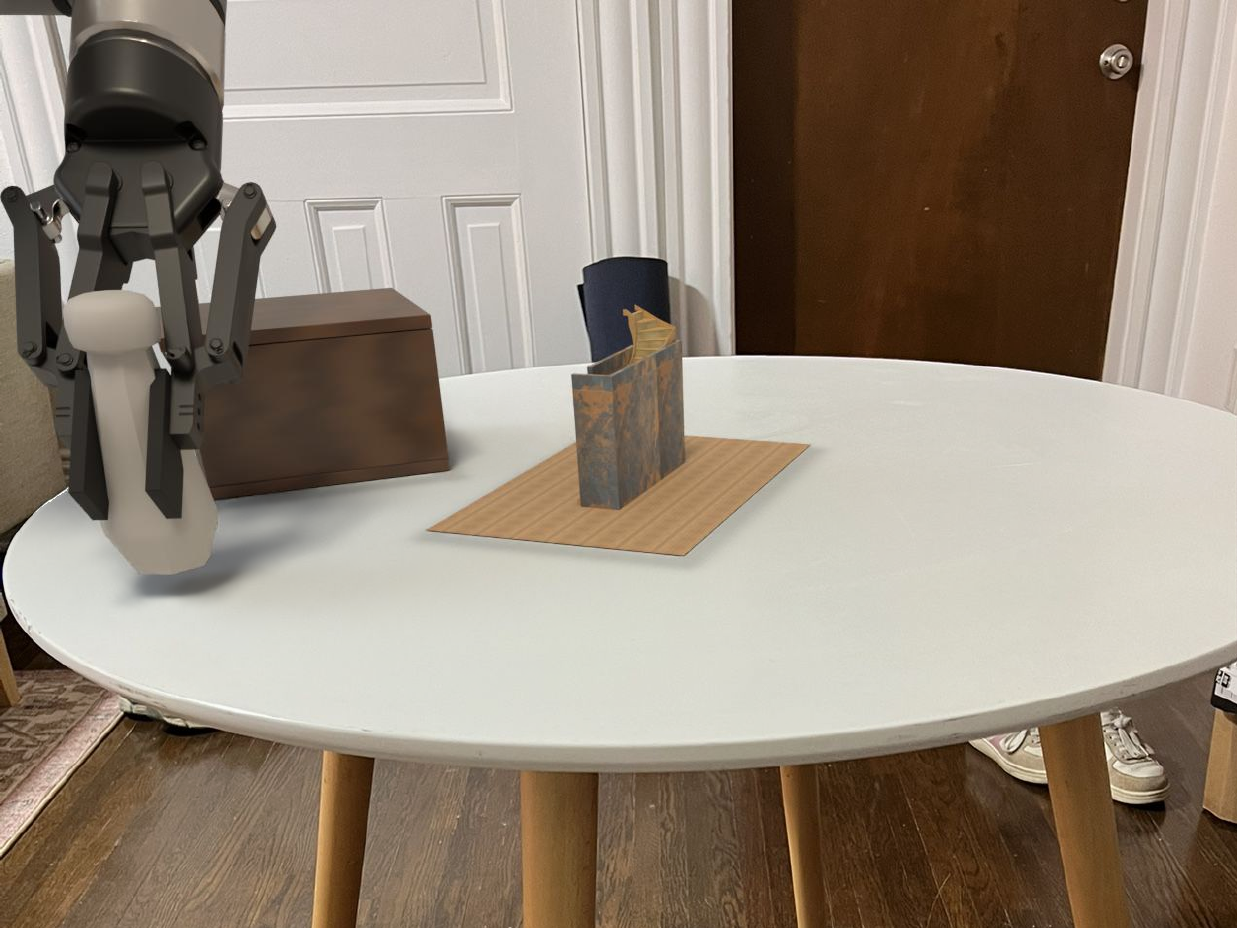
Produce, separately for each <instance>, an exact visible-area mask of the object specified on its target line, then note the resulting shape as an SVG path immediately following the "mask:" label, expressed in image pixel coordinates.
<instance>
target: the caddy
mask: <svg viewBox="0 0 1237 928" xmlns="http://www.w3.org/2000/svg"><path fill="white" fill-rule="evenodd" d="M435 344H436V343H435V338H434V330H433V328H427V329H417V330H406V331H395V332H384V333H373V334H362V335H351V336H340V337H329V338H319V339H308V340H297V341H286V342H275V343H264V344H253V345H249V347H248V355H247V362H246V370H245V376H244V379H243V380H242V381H241V382H240V383H238V384H236V385H229V384H226V383H225V382H222V383H219V384H216V385H214V386H212V387H211V388H209V390H208V391H207V393H206V395H205V408H204V429H203V430H204V434H203V442H202V444H201V446H200V448H199V450H194V452H195V455H196V457H197V460H198V462H199V465H200V467H201V470H202V472H203V475H204V477H205V480H206V482H207V485H208V487H209V490H210V492H211V495H212V497H213V500H214V501H215V500H221V499H229V498H230V499H231V498H237V497H245V496H246V497H247V496H253V495H262V494H269V493H270V494H271V493H278V492H284V491H294V490H302V489H303V490H304V489H309V488H318V487H327V486H334V485H342V484H343V485H344V484H349V483H350V484H351V483H357V482H366V481H373V480H382V479H389V478H390V479H391V478H398V477H406V476H412V475H413V476H414V475H420V474H421V475H423V474H430V473H437V472H445V471H446V472H447V471H450V470H451V466H450V457H449V448H448V441H447V432H446V426H445V425H446V424H445V416H444V409H443V401H442V392H441V385H440V378H439V377H440V375H439V370H438V369H439V368H438V361H437V353H436V346H435Z"/></svg>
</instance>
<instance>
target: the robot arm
mask: <svg viewBox="0 0 1237 928" xmlns="http://www.w3.org/2000/svg"><path fill="white" fill-rule="evenodd" d="M227 7H228V0H0V16H66V17H67V18H70V31H69V45H68V46H69V47H68V63H69V65H68V67H67V73H66V84H65V85H66V86H65V100H64V101H65V102H64V117H63V137H64V155H63V157H62V161H61V162H60V164H59V165H58V166H57V168H56V170H55V171H54V174H53V180H52V181H53V184H51V185H49V186H47V187H44V188H42V189H39V190H37V191H35V192H32V193H30V194H26V193H25V191H24V190H23V189H22V188H21V187H19V186H17V185H9V186H6V187H4V188H3V189H2V191H1V192H0V202H1V204H2V206H3V208H4V210H5V212H6V215H7V217H8V219H9V221H10V223H11V225H12V227H13V229H12V230H13V232H12V233H13V257H14V262H13V263H14V285H15V286H14V287H15V316H16V317H15V318H16V346H17V349H16V350H17V353H18V355H19V356H20V358H21V359H22V360H23V362H24V363H25V364H26V365H27V367H28V368H29V369H30V370H31V372H32V373H33V374H34V376H35V377H36V378H37V379H38V380H39V382H40V383H41V384H42V385H43V386H44V387H45V388H46V389H47V388H48V389H56V396H55V398H56V399H55V410H54V411H55V413H54V415H55V417H54V430H55V432H56V435H57V437H58V439H60V441H61V442H62V443H63V444H64V445H65V447H66V448H67V449H68V450H69V452H70V454H69V469H68V471H69V472H68V487H67V488H68V489H67V494H69V496H70V497H71V498H72V499H73V500H74V501H75V502H76V503H77V505H78V506H79V507H80V508H81V509H82V510H83V512H85V514H86V515H87V516H88V517H89V518H90V519H91V520H92V521H94V522H95V521H101V520H108V510H109V500H108V495H107V488H106V481H105V474H104V467H103V460H102V454H101V448H100V441H99V435H98V428H97V422H96V416H95V409H94V403H93V396H92V387H91V377H90V373H89V370H88V362H87V352H85V351H82V350H79V349H76V348H74V347H73V346H72V344H71V343H70V341H69V338H68V335H67V332H66V329H65V326H64V316H63V302H62V299H63V298H62V278H61V277H62V276H61V260H60V255H59V250H58V249H57V246H56V244H57V245H58V244H59V243H61V242H62V241H63V236H62V234H61V233H62V230H63V227H62V226H63V225H62V221H63V218H64V217H65V216H66V215H67V214H68V213H69V214H70V215H71V216H72V218H73V219H74V221H76V223H77V224H78V225H77V231H76V241H77V244H78V252H77V257H76V261H75V266H74V270H73V274H72V279H71V283H70V287H69V291H68V296H67V299H66V303H67V302H68V300H69V299H71V298H73V297H75V296H78V295H81V294H83V293H89V292H95V291H105V290H123V287H124V285H128V283H130V279H131V274H132V270H133V266H134V263H136V262H139V261H144V260H151V261H154V263H155V264H154V265H155V272H156V279H157V289H158V296H159V305H160V306H159V307H161V314H162V322H163V330H164V338H165V347H166V353H165V351H164V350H161V351H162V353H161V354H162V356H163V357H164V359H165V360H166V362H167V364H168V366H169V367H170V372H169V370H168V369H167V368H166V367H164V368H163V367H161V368H158V369H154V373H155V379H154V381H153V382H152V384H151V385H150V395H149V416H148V437H147V458H146V479H145V492H146V493H147V494H148V496H149V497H150V498H151V499H152V501H153V502H154V503H155V505H156V506H157V507H158V508H159V510H160V511H161V512H162V514H163V515H164V516H165V517H166V519H182V499H183V475H184V469H183V463H182V457H181V450H194V451H195V450H199V448H200V446H201V444H202V442H203V434H204V430H203V429H204V408H205V395H206V393H207V391H208V390H209V388H211V387H212V386H214V385H216V384H219V383H222V382H225V383H226V384H229V385H236V384H238V383H240V382H241V381H242V380H243V379H244V376H245V370H246V362H247V355H248V347H249V340H250V332H251V325H252V318H253V310H254V303H255V299H256V294H257V288H258V281H259V279H258V278H259V273H260V265H261V259H262V255H263V254H264V251H265V250H266V248H267V246H268V245H269V243H270V241H271V239H272V237H273V236H274V234H275V232H276V229H277V222H276V220H275V217H274V214H273V213H272V210H271V208H270V206H269V203H268V201H267V198H266V196H265V194H264V191H263V189H262V187H261V185H259V184H258V183H257V182H252V181H248V182H245V183H243V184H242V185H241V186H240V187H236V186H234V185H232V184H229V183H226V182H225V181H224V178H223V176H222V173H221V172H222V158H223V132H224V131H223V130H224V113H223V110H224V107H225V78H226V45H227V44H226V42H227V41H226V40H227V39H226V23H227ZM219 217H220V219H221V221H222V222H221V227H220V232H219V238H218V246H217V253H216V260H215V268H214V274H213V280H212V281H213V283H212V288H211V289H212V290H211V296H210V302H209V303H210V309H209V316H208V323H207V330H206V338H205V345H204V344H203V336H202V328H201V320H200V312H199V305H198V304H199V298H198V289H197V283H196V281H197V280H198V270H197V269H198V268H197V262H196V254H195V253H196V252H195V245H196V244H197V243H198V242H199V240H200V239H201V238H202V237H203V235H205V233H206V232H207V231H208V229H209V228H210V227H211V226H212V225H213V224H214V223H215V221H216V220H217V219H218V218H219ZM161 351H160V352H161Z"/></svg>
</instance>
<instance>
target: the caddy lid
mask: <svg viewBox="0 0 1237 928" xmlns="http://www.w3.org/2000/svg"><path fill="white" fill-rule="evenodd" d="M198 305H199V312H200V320H201V328H202V336H203V344H204V345H205V338H206V330H207V323H208V316H209V309H210V302H198ZM155 308H156V311H157V313H158V316H159V321H160V326H161V341H160V342H159V343H157V345H158V348H159V350H160V353H161V354H162V351H161V350H164V351H165V353H166V347H165V338H164V330H163V322H162V314H161V306H155ZM427 328H431V329H433V322H432V315H431V314H430V313H429V312H427V310H424V309H423V308H422V307H420V306H419V305H417V304H416V303H414V302H413V301H412V300H410V299H408V297H406V296H404V295H403V294H402V293H400V292H399V291H398V290H396V289H395V288H393V287H385V288H372V289H370V288H369V289H361V290H359V289H358V290H348V291H347V290H346V291H335V292H323V293H321V292H320V293H311V294H299V295H285V296H274V297H262V298H255V303H254V310H253V318H252V325H251V332H250V340H249V345H253V344H264V343H275V342H286V341H297V340H308V339H319V338H329V337H340V336H351V335H362V334H373V333H384V332H395V331H406V330H417V329H427Z"/></svg>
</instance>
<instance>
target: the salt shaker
mask: <svg viewBox="0 0 1237 928" xmlns="http://www.w3.org/2000/svg"><path fill="white" fill-rule="evenodd" d="M67 300H68V299H67ZM155 307H156V306H155V303H154V301H152V299H150V298H149V297H148V296H147V295H146V294H144V293H140V292H136V291H132V290H129V289H128V290H127V289H122V290H105V291H95V292H89V293H83V294H81V295H78V296H75V297H73V298H71V299H69V300H68V302H67V301H66V304H65V305H64V307H63V308H62V317H64V326H65V329H66V332H67V335H68V338H69V341H70V343H71V344H72V346H73V347H74V348H76V349H79V350H82V351H85V352H87V362H88V370H89V373H90V377H91V387H92V396H93V403H94V409H95V416H96V422H97V428H98V435H99V441H100V448H101V454H102V460H103V467H104V474H105V481H106V488H107V495H108V500H109V510H108V520H100V527H101V529H102V532H103V533H104V535H105V537H106V538H107V540H108V541H109V542H110V543H111V544H112V545H113V546H114V548H115V549H116V550H117V551H118V552H119V553H120V554H121V555H122V556H123V558H124V559H125V560H126V562H128V563H129V565H131V567H132V568H133V569H134V570H135V572H136V573H137V574H138V575H164V576H165V575H166V576H168V575H171V576H172V575H176V574H180V573H183V572H184V573H185V572H188V571H191V570H194V569H195V570H196V569H199V568H202V567H205V565H206V564H207V562H208V560H209V559H210V557H211V556H212V550H213V543H214V539H215V535H216V531H217V528H218V524H219V523H218V522H219V521H218V509H217V505H216V502H215V500H213V497H212V495H211V492H210V490H209V487H208V485H207V482H206V480H205V477H204V475H203V472H202V470H201V467H200V465H199V462H198V459H197V456H196V453H195V450H181V457H182V463H183V469H184V475H183V499H182V519H166V517H165V516H164V515H163V514H162V512H161V511H160V510H159V508H158V507H157V506H156V505H155V503H154V502H153V501H152V499H151V498H150V497H149V496H148V494H147V493H146V492H145V479H146V458H147V437H148V416H149V395H150V385H151V384H152V382H153V381H154V379H155V373H154V369H158V368H162V367H161V364H160V362H159V359H158V357H157V355H156V352H155V349H154V347H153V346H155V345H158V343H159V342H160V341H161V326H160V321H159V316H158V313H157V311H156V308H155Z"/></svg>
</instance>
